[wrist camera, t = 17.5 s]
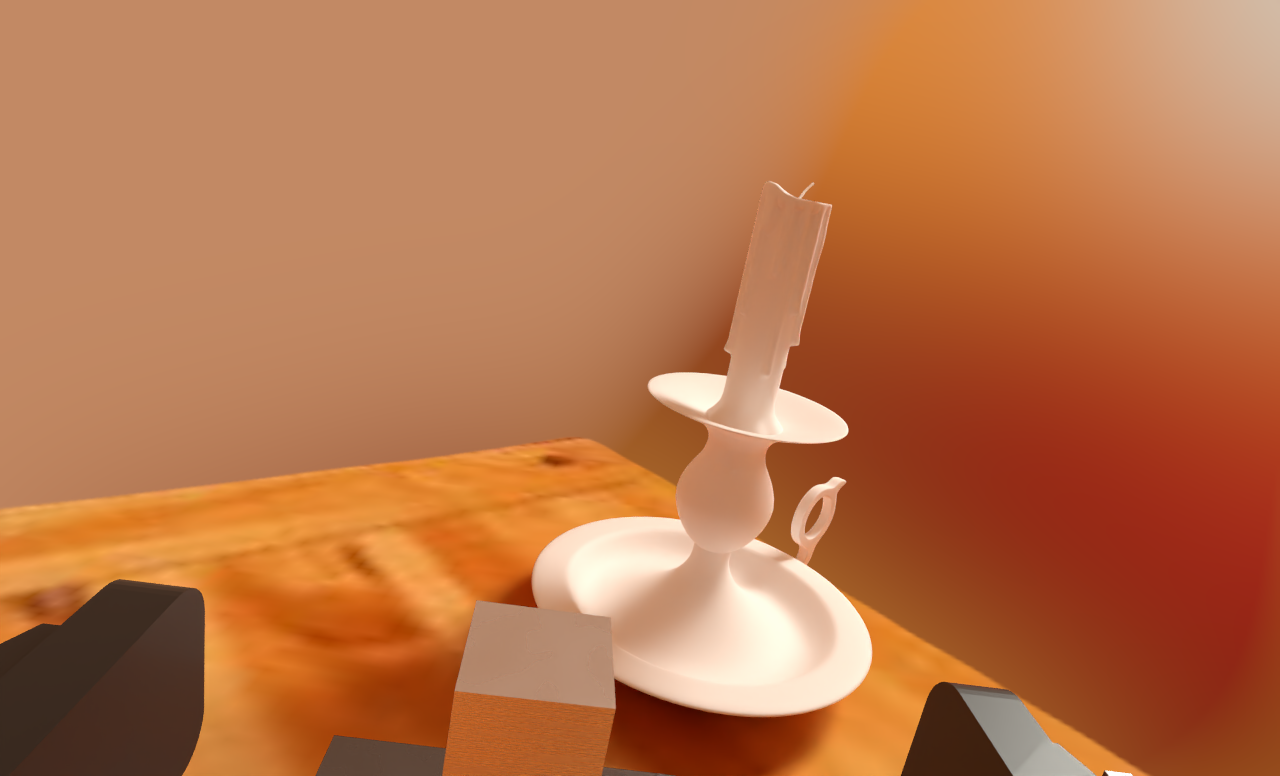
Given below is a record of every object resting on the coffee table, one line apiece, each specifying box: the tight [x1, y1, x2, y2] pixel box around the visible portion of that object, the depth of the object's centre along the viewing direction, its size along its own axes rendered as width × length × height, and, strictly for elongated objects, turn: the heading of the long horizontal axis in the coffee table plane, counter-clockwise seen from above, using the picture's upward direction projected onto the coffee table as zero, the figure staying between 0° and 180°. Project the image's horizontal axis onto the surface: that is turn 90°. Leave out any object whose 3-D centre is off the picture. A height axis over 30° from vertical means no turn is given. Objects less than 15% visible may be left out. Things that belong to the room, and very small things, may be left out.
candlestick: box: [532, 181, 872, 717], centre depth 45 cm, size 21×25×28 cm
